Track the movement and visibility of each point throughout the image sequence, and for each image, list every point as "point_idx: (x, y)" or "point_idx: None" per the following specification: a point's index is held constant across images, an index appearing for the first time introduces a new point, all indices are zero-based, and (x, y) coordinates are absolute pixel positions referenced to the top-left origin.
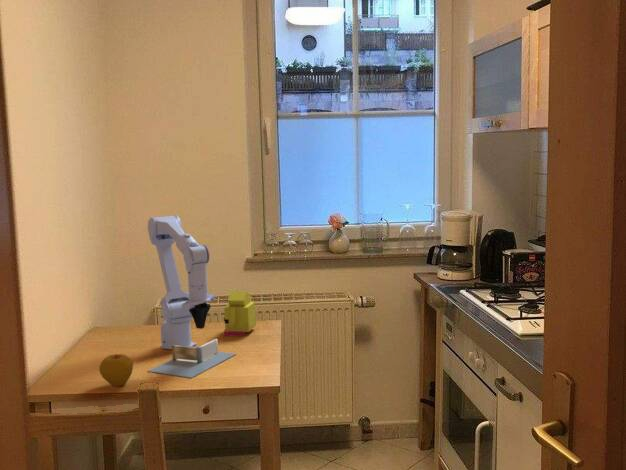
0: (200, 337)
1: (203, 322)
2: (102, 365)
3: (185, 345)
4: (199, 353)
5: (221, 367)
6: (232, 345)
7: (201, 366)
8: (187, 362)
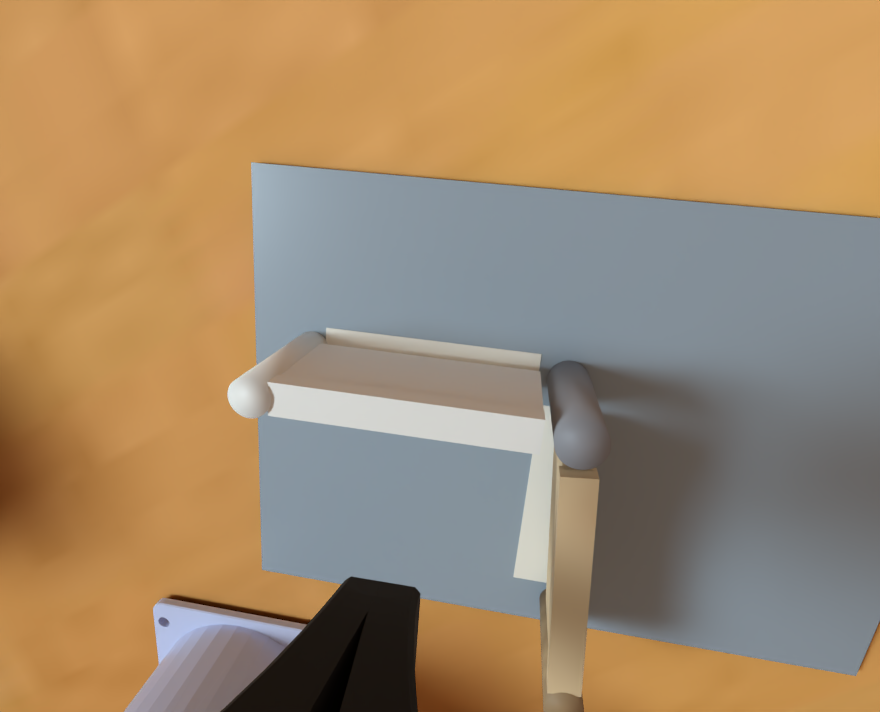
0: (24, 634)
1: (368, 652)
2: None
3: (265, 649)
4: (597, 402)
5: (643, 103)
6: (55, 329)
7: (684, 305)
8: None
